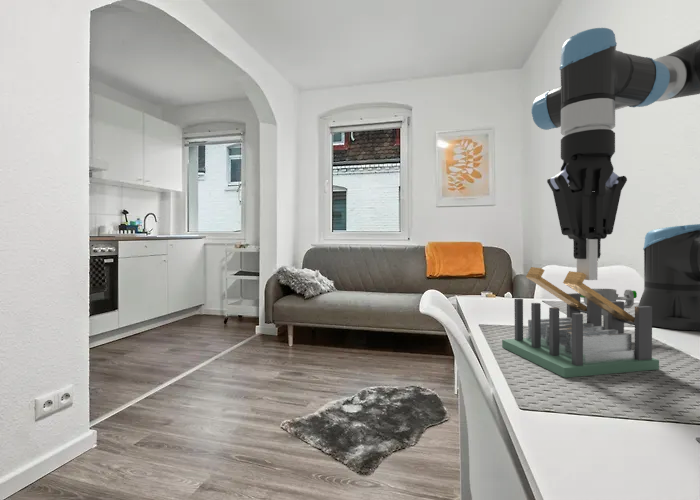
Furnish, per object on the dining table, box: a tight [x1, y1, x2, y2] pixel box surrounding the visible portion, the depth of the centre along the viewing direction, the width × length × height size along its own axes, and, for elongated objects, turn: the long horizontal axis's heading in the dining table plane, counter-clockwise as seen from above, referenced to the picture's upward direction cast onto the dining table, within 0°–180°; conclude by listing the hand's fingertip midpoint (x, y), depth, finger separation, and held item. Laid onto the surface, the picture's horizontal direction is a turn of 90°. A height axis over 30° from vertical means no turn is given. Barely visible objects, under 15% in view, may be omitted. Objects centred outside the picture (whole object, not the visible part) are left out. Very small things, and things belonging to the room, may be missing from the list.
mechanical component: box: [580, 288, 638, 330], centre depth 83 cm, size 3×10×10 cm, turn 79°
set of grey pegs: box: [514, 292, 653, 366], centre depth 69 cm, size 14×16×8 cm
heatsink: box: [525, 316, 635, 364], centre depth 69 cm, size 9×15×4 cm, turn 10°
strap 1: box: [525, 266, 587, 314], centre depth 74 cm, size 14×4×2 cm
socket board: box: [501, 337, 660, 379], centre depth 69 cm, size 17×17×2 cm
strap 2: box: [562, 270, 635, 326], centre depth 64 cm, size 14×4×2 cm
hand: (586, 279), depth 63 cm, fingers closed
